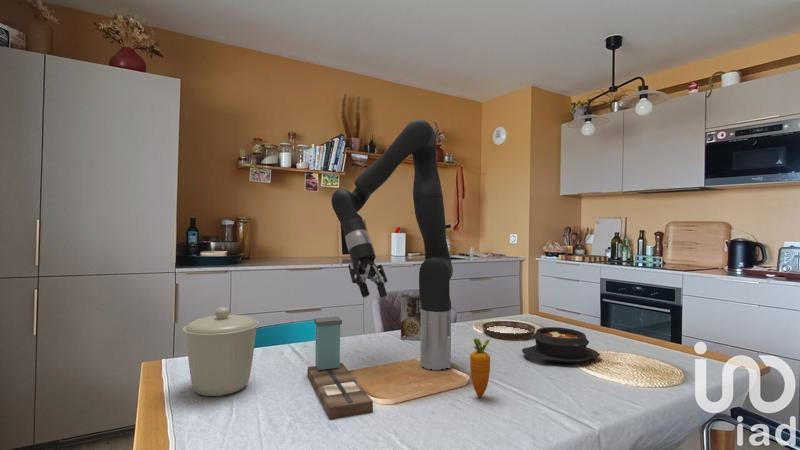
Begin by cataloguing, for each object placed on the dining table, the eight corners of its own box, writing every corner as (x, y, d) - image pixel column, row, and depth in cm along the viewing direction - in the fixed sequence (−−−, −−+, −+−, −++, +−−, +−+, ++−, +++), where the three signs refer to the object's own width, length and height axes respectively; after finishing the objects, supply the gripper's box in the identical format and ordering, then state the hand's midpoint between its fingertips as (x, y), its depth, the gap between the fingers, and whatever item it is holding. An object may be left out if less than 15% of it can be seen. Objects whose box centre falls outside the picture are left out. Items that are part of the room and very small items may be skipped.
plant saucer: (482, 340, 154) (482, 331, 154) (481, 327, 175) (481, 319, 175) (539, 343, 151) (539, 334, 151) (531, 329, 171) (531, 321, 171)
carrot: (491, 395, 103) (491, 335, 103) (488, 403, 98) (489, 341, 98) (471, 392, 105) (471, 334, 105) (468, 400, 100) (468, 338, 100)
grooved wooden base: (307, 375, 115) (307, 366, 115) (342, 371, 119) (342, 362, 119) (329, 419, 89) (329, 407, 89) (372, 412, 93) (372, 400, 93)
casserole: (541, 370, 122) (541, 342, 122) (511, 351, 140) (511, 327, 140) (614, 365, 127) (614, 338, 127) (576, 347, 145) (576, 324, 145)
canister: (181, 409, 93) (182, 317, 94) (182, 382, 109) (183, 303, 110) (263, 395, 102) (264, 310, 102) (253, 372, 118) (254, 299, 118)
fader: (313, 365, 115) (314, 318, 115) (337, 362, 118) (337, 316, 118) (316, 370, 111) (317, 322, 111) (341, 367, 113) (341, 320, 113)
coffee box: (425, 336, 159) (425, 294, 159) (424, 340, 152) (424, 297, 152) (401, 335, 159) (402, 293, 160) (400, 339, 153) (400, 296, 153)
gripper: (354, 239, 119) (369, 291, 113) (382, 244, 130) (398, 292, 124) (335, 250, 122) (350, 301, 116) (365, 254, 134) (380, 301, 128)
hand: (375, 296), depth 120 cm, fingers open, 8 cm apart
